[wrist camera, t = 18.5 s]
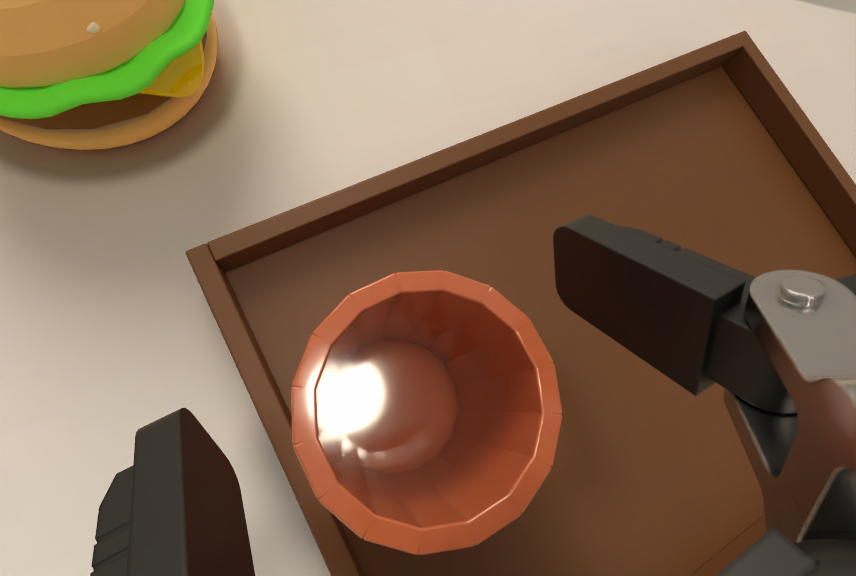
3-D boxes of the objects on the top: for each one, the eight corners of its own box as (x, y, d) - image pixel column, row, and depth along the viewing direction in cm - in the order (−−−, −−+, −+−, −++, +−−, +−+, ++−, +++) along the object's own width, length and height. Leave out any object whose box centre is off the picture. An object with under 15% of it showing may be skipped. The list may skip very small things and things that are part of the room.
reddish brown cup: (358, 515, 17) (370, 618, 8) (291, 371, 17) (244, 341, 9) (491, 435, 18) (608, 457, 10) (423, 306, 19) (481, 231, 11)
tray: (441, 795, 15) (456, 853, 13) (201, 268, 18) (184, 251, 16) (939, 380, 23) (995, 378, 21) (715, 58, 26) (745, 29, 24)
